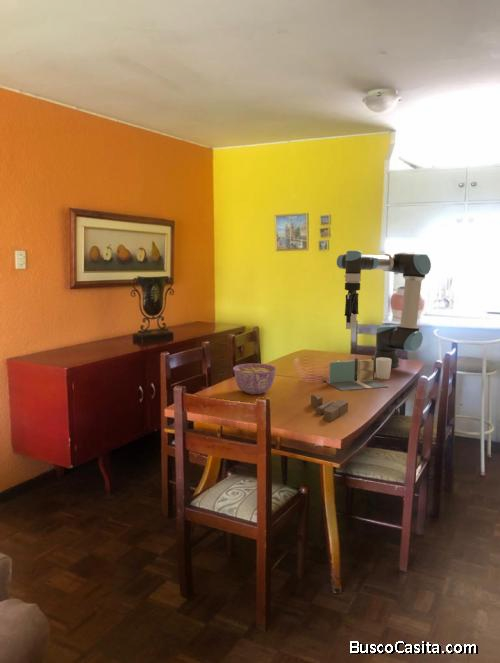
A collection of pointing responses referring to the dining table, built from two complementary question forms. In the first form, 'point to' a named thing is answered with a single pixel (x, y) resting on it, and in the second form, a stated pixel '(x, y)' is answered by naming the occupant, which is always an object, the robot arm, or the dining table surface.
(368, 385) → the mat
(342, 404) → the wooden block set
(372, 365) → the tan brown patterned panel
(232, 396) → the dining table surface
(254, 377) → the bowl of food
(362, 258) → the robot arm
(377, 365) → the white cup
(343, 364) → the teal rectangular panel
